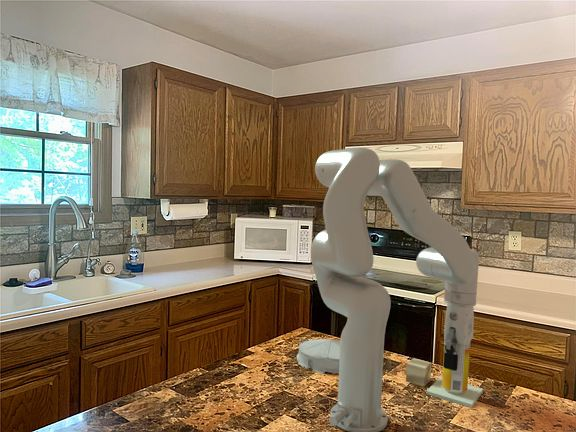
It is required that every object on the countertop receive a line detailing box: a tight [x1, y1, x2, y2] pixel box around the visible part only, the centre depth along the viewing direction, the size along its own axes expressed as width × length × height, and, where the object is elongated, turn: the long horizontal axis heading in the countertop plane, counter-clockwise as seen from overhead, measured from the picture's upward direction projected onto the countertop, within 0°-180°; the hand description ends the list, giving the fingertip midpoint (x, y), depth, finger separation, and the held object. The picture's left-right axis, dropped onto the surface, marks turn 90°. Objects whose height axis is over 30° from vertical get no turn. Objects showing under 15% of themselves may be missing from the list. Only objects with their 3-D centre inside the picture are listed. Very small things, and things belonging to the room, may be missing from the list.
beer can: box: [441, 337, 471, 395], centre depth 112 cm, size 6×6×15 cm
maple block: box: [405, 357, 432, 387], centre depth 120 cm, size 5×5×5 cm
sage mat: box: [425, 376, 484, 409], centre depth 113 cm, size 11×11×1 cm
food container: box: [296, 338, 340, 375], centre depth 132 cm, size 20×20×7 cm
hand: (455, 363), depth 112 cm, fingers open, 9 cm apart
